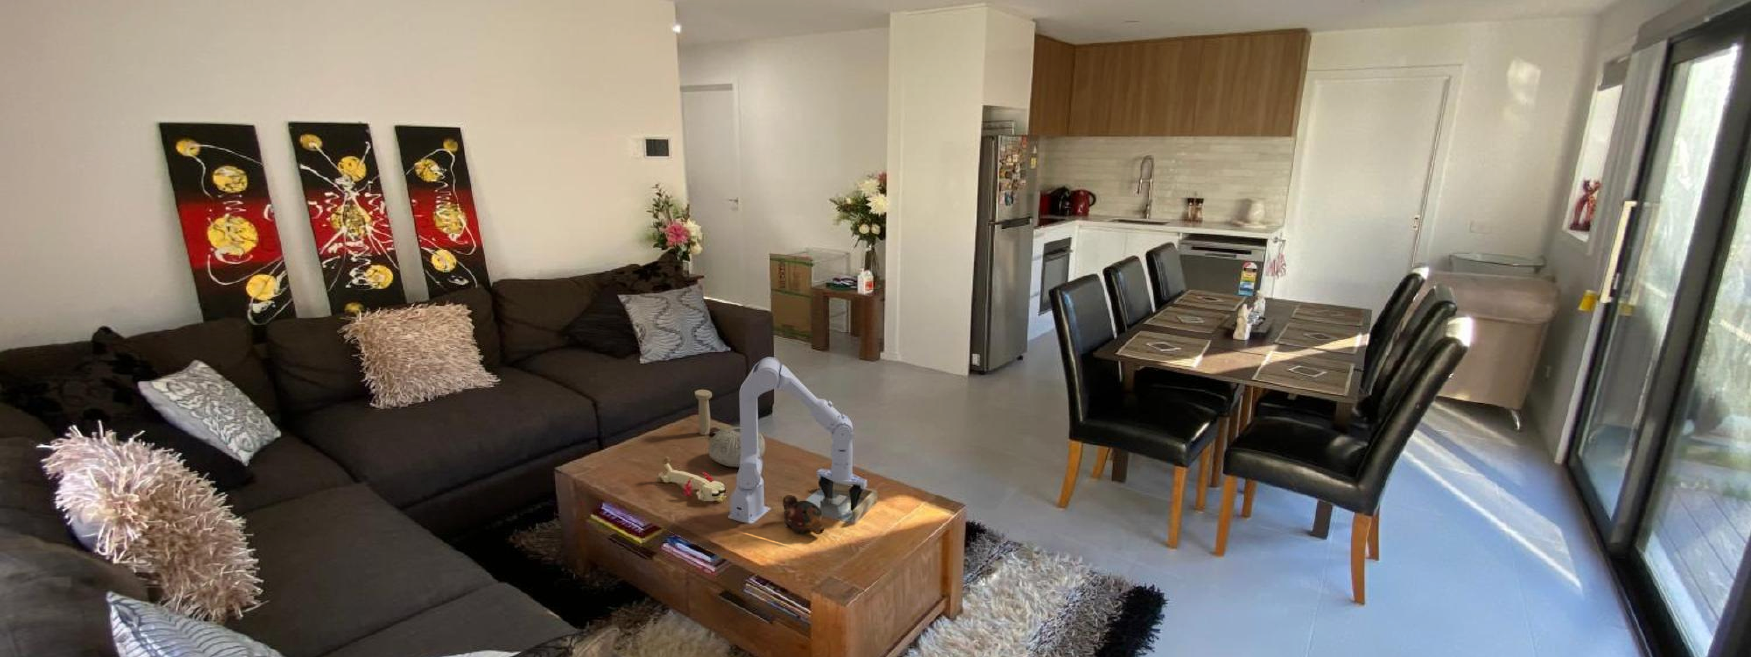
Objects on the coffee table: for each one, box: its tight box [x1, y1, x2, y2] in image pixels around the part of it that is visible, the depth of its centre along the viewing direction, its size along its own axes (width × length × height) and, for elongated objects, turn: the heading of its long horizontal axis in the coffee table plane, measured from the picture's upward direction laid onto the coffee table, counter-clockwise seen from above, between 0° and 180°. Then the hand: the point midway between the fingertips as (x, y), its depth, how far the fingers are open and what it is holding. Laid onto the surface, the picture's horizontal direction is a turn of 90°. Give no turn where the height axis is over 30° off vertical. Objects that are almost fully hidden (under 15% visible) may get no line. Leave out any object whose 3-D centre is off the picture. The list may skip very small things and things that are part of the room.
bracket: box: [820, 495, 848, 518], centre depth 208 cm, size 6×6×4 cm
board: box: [804, 488, 863, 524], centre depth 212 cm, size 13×18×1 cm
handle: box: [694, 389, 713, 436], centre depth 258 cm, size 5×6×15 cm
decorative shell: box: [707, 426, 766, 468], centre depth 239 cm, size 18×18×10 cm
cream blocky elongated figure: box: [657, 456, 727, 503], centre depth 219 cm, size 10×9×25 cm
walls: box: [818, 478, 878, 525], centre depth 212 cm, size 14×18×4 cm
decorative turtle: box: [782, 494, 826, 536], centre depth 200 cm, size 10×15×8 cm, turn 51°
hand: (841, 506), depth 209 cm, fingers open, 7 cm apart
